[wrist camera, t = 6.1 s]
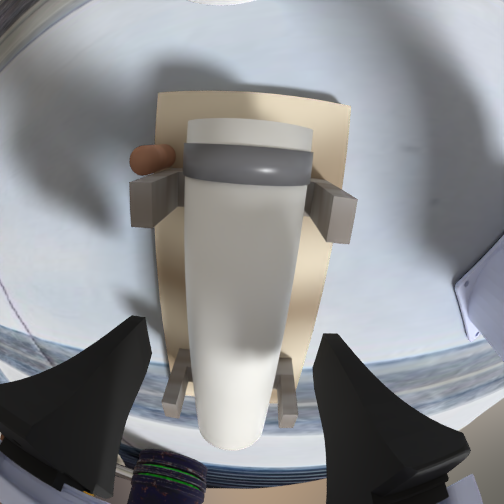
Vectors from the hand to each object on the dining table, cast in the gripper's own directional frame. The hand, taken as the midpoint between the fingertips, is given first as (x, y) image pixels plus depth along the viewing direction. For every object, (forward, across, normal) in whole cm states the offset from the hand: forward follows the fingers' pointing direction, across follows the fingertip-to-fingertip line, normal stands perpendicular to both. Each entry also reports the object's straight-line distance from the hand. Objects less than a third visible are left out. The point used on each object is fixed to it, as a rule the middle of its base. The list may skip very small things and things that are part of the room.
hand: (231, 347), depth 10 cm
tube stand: (+5, 0, 0) cm, 5 cm away
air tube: (+1, 0, 0) cm, 1 cm away
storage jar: (+6, +8, +30) cm, 32 cm away
